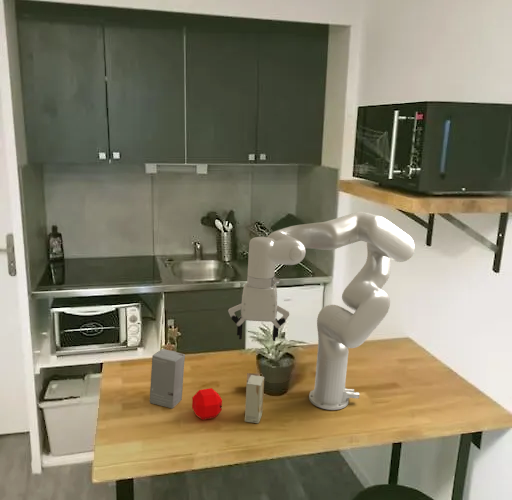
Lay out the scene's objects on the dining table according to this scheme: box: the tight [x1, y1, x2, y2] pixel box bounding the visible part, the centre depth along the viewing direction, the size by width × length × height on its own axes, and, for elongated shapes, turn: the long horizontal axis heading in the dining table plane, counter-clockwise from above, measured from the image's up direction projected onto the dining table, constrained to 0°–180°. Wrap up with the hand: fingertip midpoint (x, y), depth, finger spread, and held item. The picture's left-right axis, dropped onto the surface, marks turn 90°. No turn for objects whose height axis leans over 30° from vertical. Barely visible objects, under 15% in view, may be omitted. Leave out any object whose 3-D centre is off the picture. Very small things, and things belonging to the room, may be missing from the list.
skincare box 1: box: [149, 348, 186, 409], centre depth 161 cm, size 8×7×16 cm
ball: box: [191, 387, 223, 421], centre depth 155 cm, size 8×8×8 cm
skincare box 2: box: [244, 375, 265, 424], centre depth 155 cm, size 6×4×12 cm
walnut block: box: [246, 372, 261, 383], centre depth 171 cm, size 5×5×5 cm
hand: (257, 338), depth 150 cm, fingers open, 9 cm apart
